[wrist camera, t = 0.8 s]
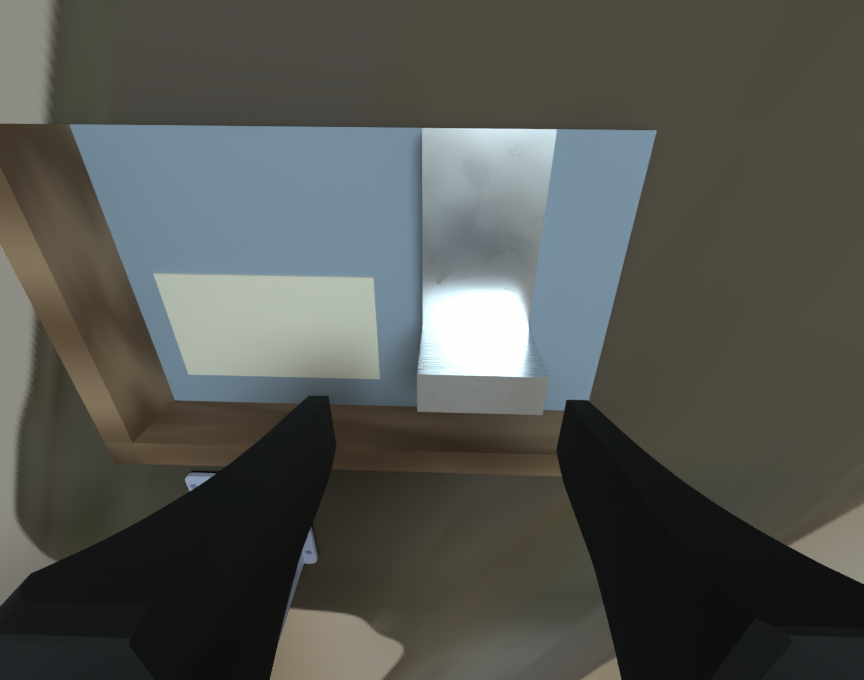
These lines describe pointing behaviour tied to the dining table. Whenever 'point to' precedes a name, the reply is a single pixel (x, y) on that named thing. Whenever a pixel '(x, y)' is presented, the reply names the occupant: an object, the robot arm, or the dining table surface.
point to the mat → (336, 255)
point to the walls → (141, 368)
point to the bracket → (482, 269)
